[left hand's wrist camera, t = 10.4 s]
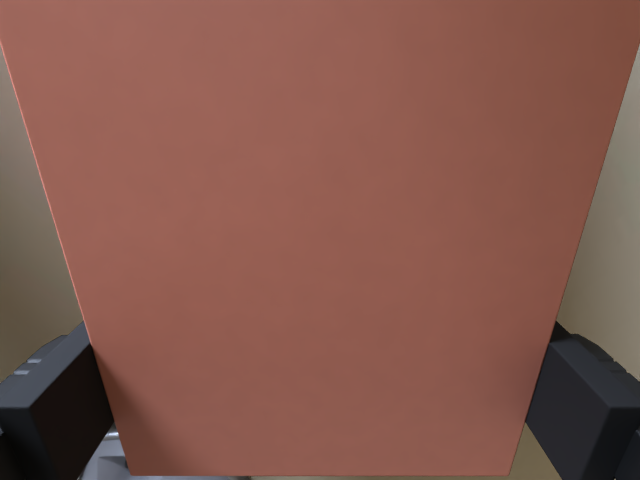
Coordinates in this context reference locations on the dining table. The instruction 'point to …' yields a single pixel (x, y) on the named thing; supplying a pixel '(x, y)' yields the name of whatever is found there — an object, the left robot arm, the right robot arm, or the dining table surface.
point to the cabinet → (319, 216)
